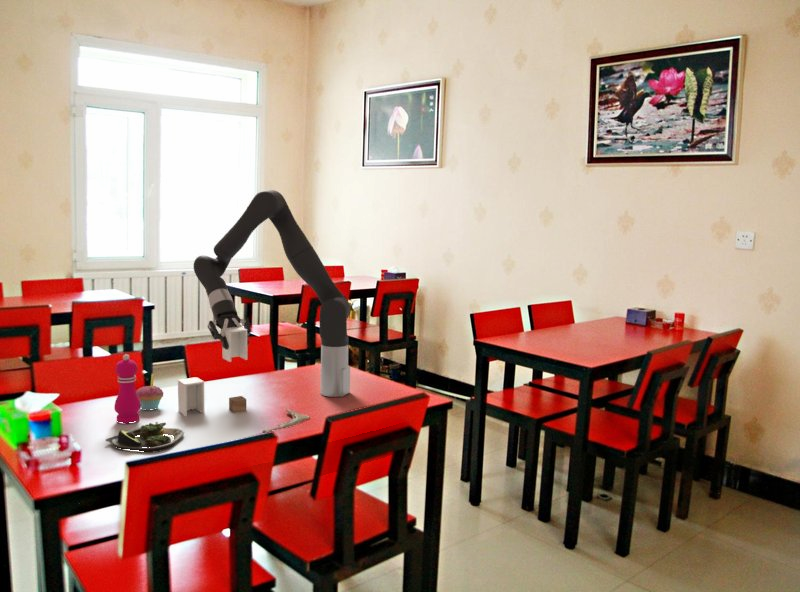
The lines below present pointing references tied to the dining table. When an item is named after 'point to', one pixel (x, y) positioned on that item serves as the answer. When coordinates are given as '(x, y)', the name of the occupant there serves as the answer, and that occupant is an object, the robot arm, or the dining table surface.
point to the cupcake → (150, 396)
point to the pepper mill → (127, 391)
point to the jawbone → (296, 419)
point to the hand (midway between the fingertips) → (237, 346)
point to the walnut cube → (237, 404)
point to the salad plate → (146, 438)
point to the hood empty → (190, 395)
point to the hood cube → (235, 343)
